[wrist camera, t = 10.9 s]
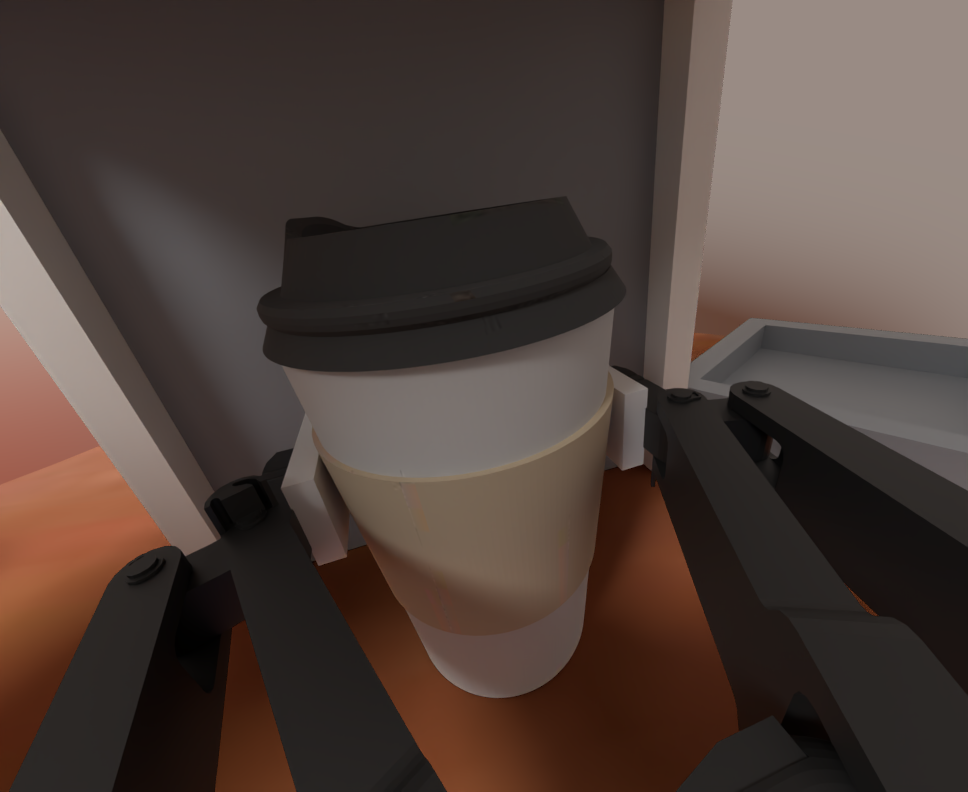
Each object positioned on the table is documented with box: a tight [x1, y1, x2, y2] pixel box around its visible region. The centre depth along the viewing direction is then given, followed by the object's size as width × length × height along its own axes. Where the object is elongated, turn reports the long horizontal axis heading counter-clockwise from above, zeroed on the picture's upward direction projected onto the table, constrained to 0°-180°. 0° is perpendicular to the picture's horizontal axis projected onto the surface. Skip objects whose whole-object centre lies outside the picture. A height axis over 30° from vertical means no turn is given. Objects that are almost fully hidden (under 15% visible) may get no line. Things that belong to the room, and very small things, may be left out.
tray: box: [688, 318, 968, 490], centre depth 24 cm, size 15×15×3 cm
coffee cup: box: [257, 196, 626, 698], centre depth 12 cm, size 9×9×15 cm
